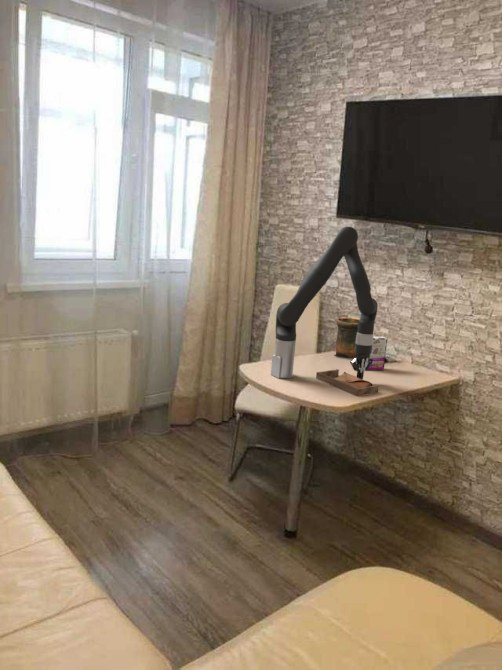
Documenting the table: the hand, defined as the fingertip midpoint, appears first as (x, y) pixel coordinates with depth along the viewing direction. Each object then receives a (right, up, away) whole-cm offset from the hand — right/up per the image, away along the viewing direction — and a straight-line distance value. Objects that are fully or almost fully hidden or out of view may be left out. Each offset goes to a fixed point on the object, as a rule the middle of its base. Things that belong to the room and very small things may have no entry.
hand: (359, 379), depth 251 cm
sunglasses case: (-4, -3, -3) cm, 6 cm away
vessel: (+2, +9, +46) cm, 47 cm away
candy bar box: (+11, +3, +25) cm, 27 cm away
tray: (-7, -2, -4) cm, 8 cm away
